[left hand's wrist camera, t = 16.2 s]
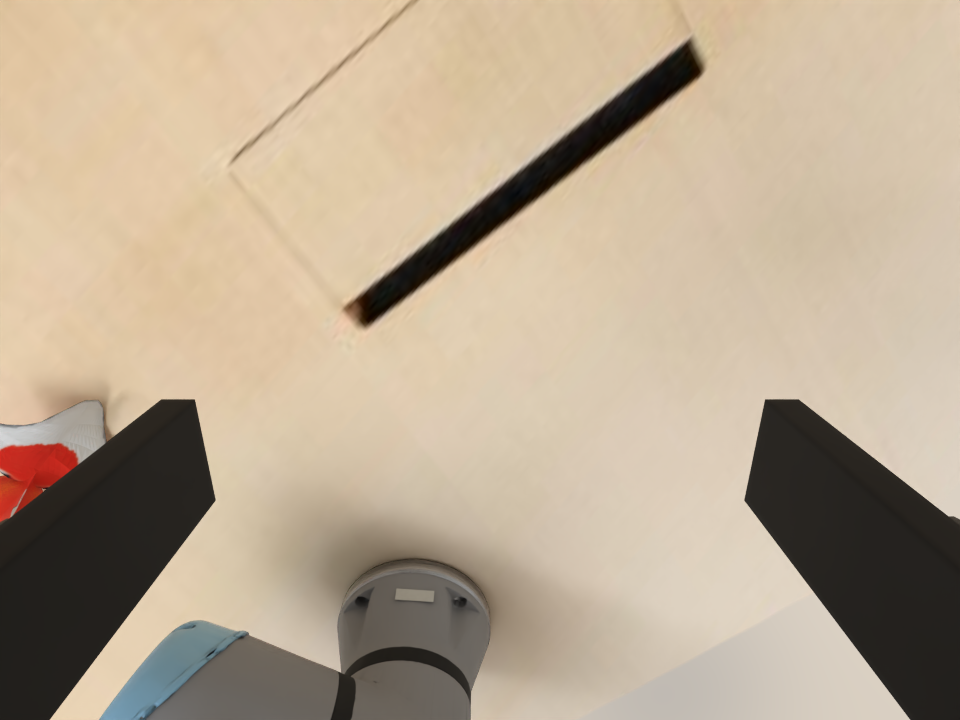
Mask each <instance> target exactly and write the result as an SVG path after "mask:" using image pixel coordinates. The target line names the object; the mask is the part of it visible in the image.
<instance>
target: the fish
mask: <svg viewBox="0 0 960 720" xmlns="http://www.w3.org/2000/svg"><path fill="white" fill-rule="evenodd" d="M106 442H107V441H106V435H105V430H104V412H103V407H102V404H101V403H100V402H99V400H86V401H83V402H81V403H79V404H76V405H74V406H72V407H70V408H68V409H66V410H64V411H62V412H60V413H58V414H56V415H54V416H52V417H50V418H48V419H46V420H44V421H42V422H40V423H34V424H28V425H5V424H0V472H1V473H2V474H3V475H5V476H0V522H1V521H3V520H5V519H7V518H10V517H12V516H13V515H14V514H15V513H17V512H18V511H19V510H21V509H22V508H23V507H24V506H26V505H27V504H28V503H30V502H31V501H32V500H33V499H35V498H36V497H37V496H38V495H40V494H41V493H42V492H43V490H42V489H47V488H49V487H50V486H51V485H53V484H54V483H55V482H56V481H58V480H59V479H60V478H62V477H63V476H64V475H65V474H67V473H68V472H69V471H71V470H72V469H73V468H74V467H76V466H77V465H78V464H79V463H81V462H82V461H83V460H85V459H86V458H87V457H88V456H90V455H91V454H92V453H94V452H95V451H96V450H97V449H99V448H100V447H101V446H103V445H104V444H105V443H106Z"/></svg>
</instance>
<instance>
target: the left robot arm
mask: <svg viewBox="0 0 960 720" xmlns="http://www.w3.org/2000/svg"><path fill="white" fill-rule="evenodd" d="M214 502H215V495H214V490H213V485H212V481H211V476H210V471H209V466H208V461H207V456H206V452H205V447H204V442H203V437H202V432H201V427H200V422H199V418H198V413H197V408H196V403H195V400H160V401H159V402H158V403H156V404H155V405H154V406H153V407H151V408H150V409H149V410H147V411H146V412H145V413H144V414H142V415H141V416H140V417H138V418H137V419H136V420H135V421H133V422H132V423H131V424H129V425H128V426H127V427H126V428H124V429H123V430H122V431H120V432H119V433H118V434H117V435H115V436H114V437H113V438H112V439H110V440H109V441H108V442H106V443H105V444H104V445H103V446H101V447H100V448H99V449H97V450H96V451H95V452H94V453H92V454H91V455H90V456H88V457H87V458H86V459H85V460H83V461H82V462H81V463H79V464H78V465H77V466H76V467H74V468H73V469H72V470H71V471H69V472H68V473H67V474H65V475H64V476H63V477H62V478H60V479H59V480H58V481H56V482H55V483H54V484H53V485H51V486H50V487H49V488H47V489H46V490H45V491H44V492H42V493H41V494H40V495H38V496H37V497H36V498H35V499H33V500H32V501H31V502H30V503H28V504H27V505H26V506H24V507H23V508H22V509H21V510H19V511H18V512H17V513H15V514H14V515H13V516H12V517H10V518H7V519H5V520H3V521H1V522H0V720H50V719H51V717H52V716H53V715H54V713H55V712H56V711H57V709H58V708H59V707H60V705H61V704H62V703H63V701H64V700H65V699H66V697H67V696H68V695H69V693H70V692H71V691H72V689H73V688H74V687H75V685H76V684H77V683H78V682H79V680H80V679H81V678H82V676H83V675H84V674H85V672H86V671H87V670H88V668H89V667H90V666H91V664H92V663H93V662H94V660H95V659H96V658H97V656H98V655H99V654H100V652H101V651H102V650H103V648H104V647H105V646H106V645H107V643H108V642H109V641H110V639H111V638H112V637H113V635H114V634H115V633H116V631H117V630H118V629H119V627H120V626H121V625H122V623H123V622H124V621H125V619H126V618H127V617H128V615H129V614H130V613H131V611H132V610H133V609H134V608H135V606H136V605H137V604H138V602H139V601H140V600H141V598H142V597H143V596H144V594H145V593H146V592H147V590H148V589H149V588H150V586H151V585H152V584H153V582H154V581H155V580H156V578H157V577H158V576H159V574H160V573H161V572H162V570H163V569H164V568H165V567H166V565H167V564H168V563H169V561H170V560H171V559H172V557H173V556H174V555H175V553H176V552H177V551H178V549H179V548H180V547H181V545H182V544H183V543H184V541H185V540H186V539H187V537H188V536H189V535H190V533H191V532H192V531H193V530H194V528H195V527H196V526H197V524H198V523H199V522H200V520H201V519H202V518H203V516H204V515H205V514H206V512H207V511H208V510H209V508H210V507H211V506H212V504H213V503H214ZM745 502H746V503H747V504H748V506H749V507H750V508H751V510H752V511H753V512H754V514H755V515H756V516H757V518H758V519H759V520H760V522H761V523H762V524H763V526H764V527H765V528H766V530H767V531H768V532H769V533H770V535H771V536H772V537H773V539H774V540H775V541H776V543H777V544H778V545H779V547H780V548H781V549H782V551H783V552H784V553H785V555H786V556H787V557H788V559H789V560H790V561H791V563H792V564H793V565H794V567H795V568H796V569H797V570H798V572H799V573H800V574H801V576H802V577H803V578H804V580H805V581H806V582H807V584H808V585H809V586H810V588H811V589H812V590H813V592H814V593H815V594H816V596H817V597H818V598H819V600H820V601H821V602H822V604H823V605H824V606H825V608H826V609H827V610H828V611H829V613H830V614H831V615H832V617H833V618H834V619H835V621H836V622H837V623H838V625H839V626H840V627H841V629H842V630H843V631H844V632H845V634H846V635H847V637H848V638H849V639H850V641H851V642H852V643H853V644H854V646H855V647H856V648H857V650H858V651H859V652H860V654H861V655H862V656H863V658H864V659H865V660H866V662H867V663H868V664H869V666H870V667H871V668H872V670H873V671H874V672H875V674H876V675H877V676H878V678H879V679H880V680H881V682H882V683H883V684H884V685H885V687H886V688H887V689H888V691H889V692H890V693H891V695H892V696H893V697H894V699H895V700H896V701H897V703H898V704H899V705H900V707H901V708H902V709H903V711H904V712H905V713H906V715H907V716H908V717H909V719H910V720H960V519H958V518H956V517H948V516H947V515H946V514H945V513H943V512H942V511H941V510H939V509H938V508H937V507H936V506H934V505H933V504H932V503H930V502H929V501H928V500H927V499H925V498H924V497H923V496H922V495H920V494H919V493H918V492H916V491H915V490H914V489H913V488H911V487H910V486H909V485H907V484H906V483H905V482H904V481H902V480H901V479H900V478H898V477H897V476H896V475H895V474H893V473H892V472H891V471H889V470H888V469H887V468H886V467H884V466H883V465H882V464H881V463H879V462H878V461H877V460H875V459H874V458H873V457H872V456H870V455H869V454H868V453H866V452H865V451H864V450H863V449H861V448H860V447H859V446H857V445H856V444H855V443H854V442H852V441H851V440H850V439H848V438H847V437H846V436H845V435H843V434H842V433H841V432H840V431H838V430H837V429H836V428H834V427H833V426H832V425H831V424H829V423H828V422H827V421H825V420H824V419H823V418H822V417H820V416H819V415H818V414H816V413H815V412H814V411H813V410H811V409H810V408H809V407H807V406H806V405H805V404H804V403H802V402H801V401H800V400H765V403H764V408H763V413H762V418H761V422H760V427H759V432H758V437H757V442H756V447H755V451H754V456H753V461H752V466H751V471H750V476H749V481H748V485H747V490H746V495H745ZM338 640H339V651H340V663H341V673H340V672H338V671H336V670H333V669H331V668H328V667H326V666H323V665H321V664H318V663H315V662H313V661H310V660H308V659H305V658H303V657H300V656H298V655H295V654H293V653H291V652H288V651H286V650H283V649H281V648H278V647H276V646H274V645H271V644H269V643H266V642H264V641H262V640H259V639H257V638H254V637H252V636H249V633H248V632H246V631H238V632H237V631H234V630H231V629H227V628H225V627H222V626H219V625H216V624H213V623H210V622H207V621H201V620H197V621H191V622H187V623H185V624H183V625H181V626H179V627H178V628H176V629H175V630H174V631H172V632H171V633H170V634H169V635H168V636H167V637H166V638H165V639H164V640H163V641H162V642H161V643H160V644H159V645H158V646H157V647H156V648H155V649H154V650H153V651H152V653H151V654H150V655H149V656H148V657H147V658H146V660H145V661H144V662H143V663H142V664H141V666H140V667H139V668H138V669H137V670H136V672H135V673H134V674H133V675H132V677H131V678H130V679H129V680H128V682H127V683H126V684H125V686H124V687H123V688H122V689H121V691H120V692H119V693H118V695H117V696H116V697H115V699H114V700H113V701H112V703H111V704H110V705H109V707H108V708H107V709H106V711H105V712H104V713H103V715H102V716H101V718H100V719H99V720H471V690H472V688H473V685H474V682H475V679H476V677H477V674H478V671H479V669H480V666H481V663H482V661H483V658H484V655H485V652H486V650H487V647H488V644H489V640H490V613H489V607H488V604H487V601H486V599H485V597H484V595H483V594H482V592H481V591H480V589H479V588H478V587H477V586H476V585H475V583H474V582H473V581H471V580H470V579H469V578H468V577H467V576H465V575H464V574H462V573H461V572H459V571H457V570H455V569H453V568H451V567H449V566H446V565H444V564H440V563H437V562H432V561H427V560H416V559H410V560H398V561H393V562H389V563H385V564H382V565H380V566H377V567H375V568H373V569H371V570H369V571H368V572H366V573H364V574H363V575H362V576H361V577H359V578H358V579H357V580H356V581H355V582H354V583H353V585H352V586H351V587H350V589H349V590H348V592H347V594H346V596H345V598H344V601H343V604H342V608H341V611H340V614H339V618H338Z"/></svg>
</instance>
